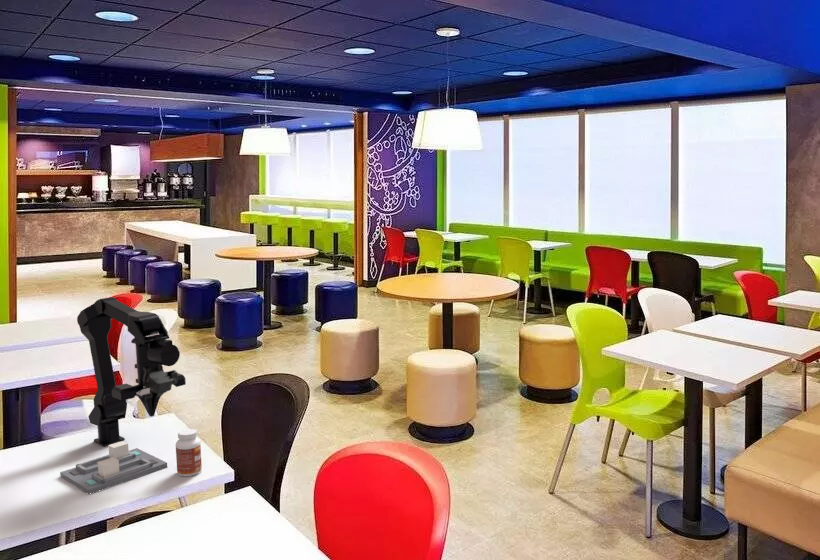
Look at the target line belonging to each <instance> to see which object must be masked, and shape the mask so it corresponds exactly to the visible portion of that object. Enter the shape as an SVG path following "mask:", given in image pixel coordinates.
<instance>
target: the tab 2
mask: <svg viewBox="0 0 820 560" xmlns="http://www.w3.org/2000/svg"><path fill="white" fill-rule="evenodd" d="M117 473H120V472H119V460H117V459H115V458H113V457H112V458H109V459H106V460H103V461H100V462H98V474H99V476H101V477H102V478H105V477H108V476H111V475H114V474H117Z"/></svg>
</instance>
